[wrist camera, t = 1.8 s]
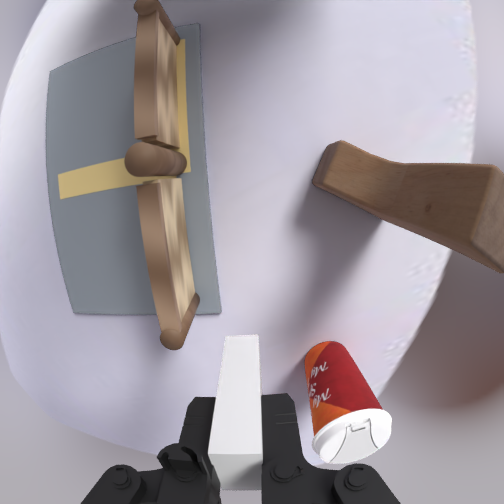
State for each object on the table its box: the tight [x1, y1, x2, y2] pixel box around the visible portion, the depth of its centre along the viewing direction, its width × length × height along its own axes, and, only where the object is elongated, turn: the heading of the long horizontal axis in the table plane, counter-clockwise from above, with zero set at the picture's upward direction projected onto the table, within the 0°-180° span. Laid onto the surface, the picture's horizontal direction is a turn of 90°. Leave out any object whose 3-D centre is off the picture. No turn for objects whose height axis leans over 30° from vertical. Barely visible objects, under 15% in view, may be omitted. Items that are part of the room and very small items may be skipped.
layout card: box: [46, 23, 222, 315], centre depth 26 cm, size 32×20×1 cm, turn 5°
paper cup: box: [305, 341, 392, 464], centre depth 25 cm, size 8×8×14 cm
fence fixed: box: [124, 0, 187, 177], centre depth 19 cm, size 16×2×9 cm, turn 5°
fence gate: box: [136, 178, 200, 350], centre depth 23 cm, size 14×2×8 cm, turn 5°
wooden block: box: [312, 140, 504, 273], centre depth 18 cm, size 9×4×18 cm, turn 67°
